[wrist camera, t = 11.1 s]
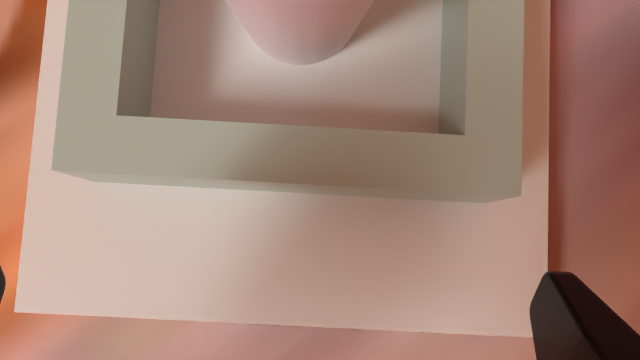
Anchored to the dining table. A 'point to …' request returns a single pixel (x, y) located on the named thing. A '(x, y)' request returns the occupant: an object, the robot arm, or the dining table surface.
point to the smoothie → (300, 26)
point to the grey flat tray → (291, 169)
